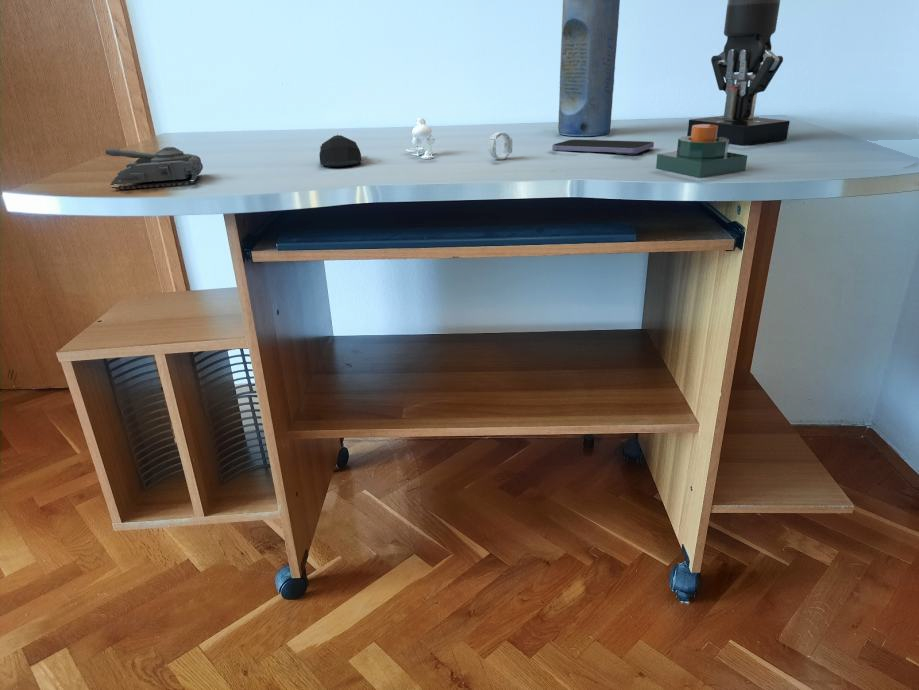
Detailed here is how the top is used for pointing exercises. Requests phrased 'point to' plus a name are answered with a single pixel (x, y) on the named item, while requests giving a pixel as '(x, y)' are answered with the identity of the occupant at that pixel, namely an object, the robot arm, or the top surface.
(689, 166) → the green peg socket
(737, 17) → the robot arm
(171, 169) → the tank toy
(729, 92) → the white block
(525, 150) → the top surface
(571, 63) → the bottle
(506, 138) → the smartwatch
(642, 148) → the smartphone
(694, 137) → the orange short cylinder
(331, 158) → the gaming mouse
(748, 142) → the dial panel
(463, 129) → the top surface
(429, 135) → the figurine
